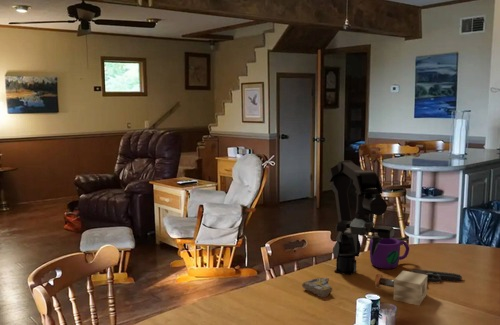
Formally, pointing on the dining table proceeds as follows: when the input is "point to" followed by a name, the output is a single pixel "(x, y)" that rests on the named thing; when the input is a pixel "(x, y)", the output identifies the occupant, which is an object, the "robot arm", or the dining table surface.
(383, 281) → the pin
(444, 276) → the handgun
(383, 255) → the mug
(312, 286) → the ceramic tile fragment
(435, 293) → the dining table surface
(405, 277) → the block
